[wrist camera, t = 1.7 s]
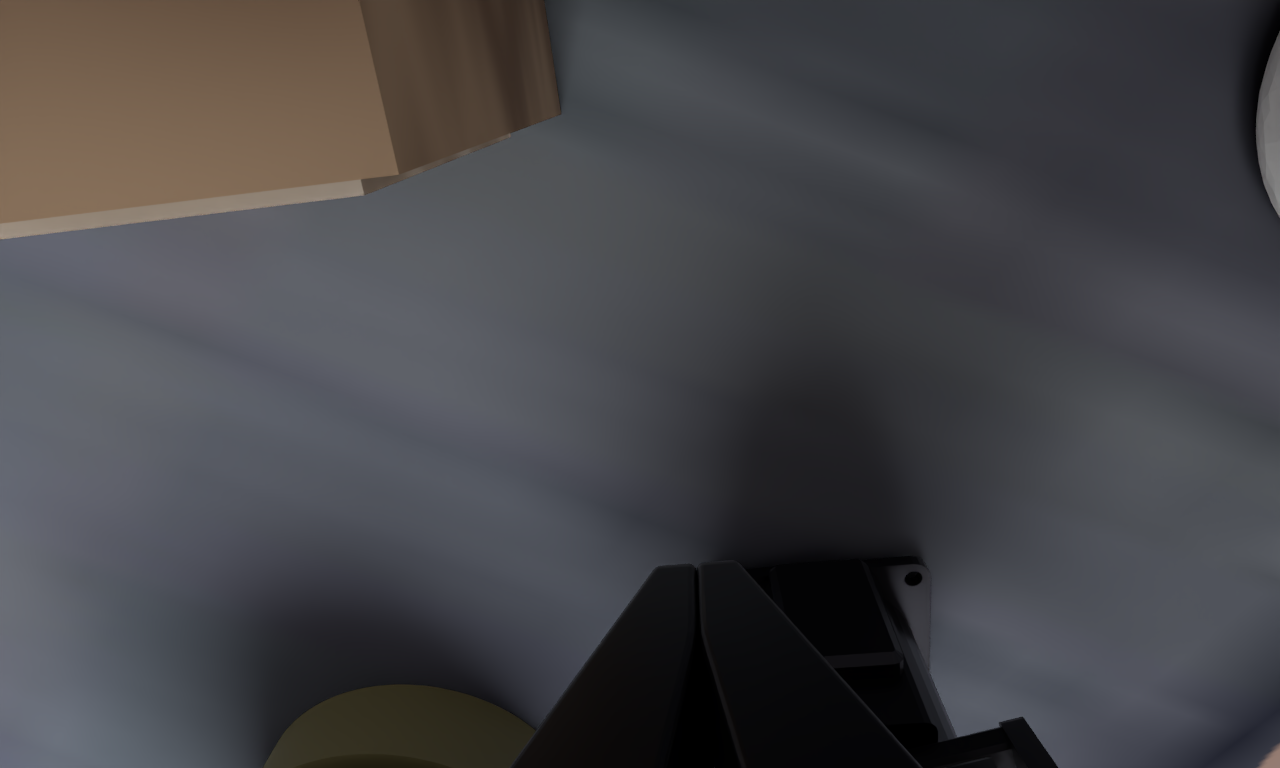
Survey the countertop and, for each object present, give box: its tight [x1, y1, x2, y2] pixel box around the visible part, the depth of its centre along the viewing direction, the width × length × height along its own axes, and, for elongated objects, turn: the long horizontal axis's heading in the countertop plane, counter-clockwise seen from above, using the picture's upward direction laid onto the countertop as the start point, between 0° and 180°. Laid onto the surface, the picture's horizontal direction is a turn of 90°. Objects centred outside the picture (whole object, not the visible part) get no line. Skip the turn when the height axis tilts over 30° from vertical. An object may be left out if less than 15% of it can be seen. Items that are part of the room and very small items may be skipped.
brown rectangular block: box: [0, 0, 561, 239], centre depth 13 cm, size 5×9×12 cm, turn 97°
